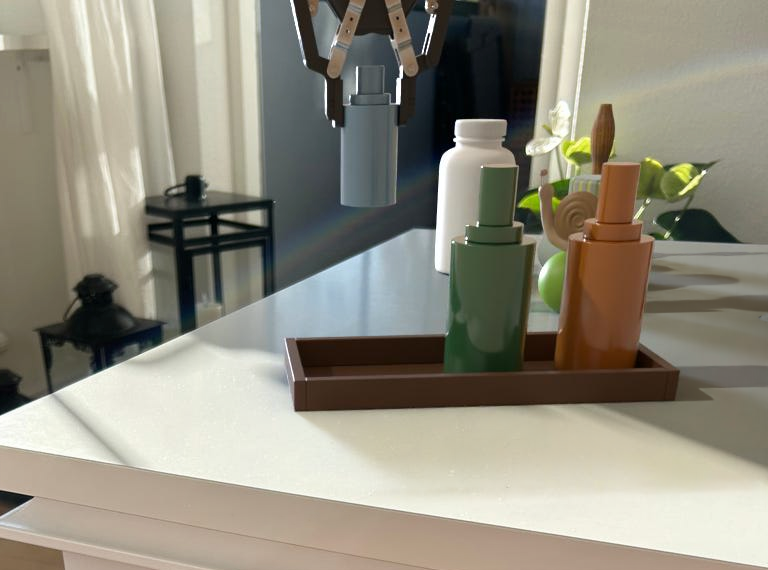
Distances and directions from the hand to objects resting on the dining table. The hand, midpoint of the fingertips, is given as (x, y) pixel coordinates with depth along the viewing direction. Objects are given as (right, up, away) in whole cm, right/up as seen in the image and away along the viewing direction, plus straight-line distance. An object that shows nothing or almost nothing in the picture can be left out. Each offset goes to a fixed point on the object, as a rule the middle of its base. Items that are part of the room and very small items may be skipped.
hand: (369, 125), depth 90 cm
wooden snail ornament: (+24, -7, +18) cm, 31 cm away
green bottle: (+7, -27, -17) cm, 32 cm away
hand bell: (+29, 0, +32) cm, 43 cm away
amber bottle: (+15, -26, -16) cm, 34 cm away
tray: (+6, -27, -16) cm, 32 cm away
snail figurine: (+18, -15, +6) cm, 24 cm away
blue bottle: (0, -5, +3) cm, 6 cm away
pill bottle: (+13, -4, +24) cm, 28 cm away
